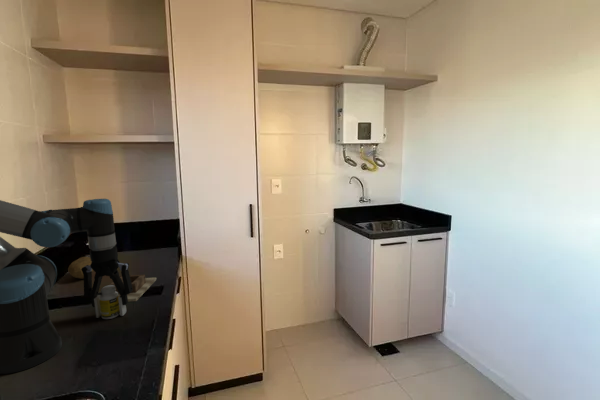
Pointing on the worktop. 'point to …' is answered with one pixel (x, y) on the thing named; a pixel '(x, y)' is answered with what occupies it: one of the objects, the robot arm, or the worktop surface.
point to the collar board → (137, 286)
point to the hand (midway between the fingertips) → (111, 314)
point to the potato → (79, 267)
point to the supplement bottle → (109, 302)
